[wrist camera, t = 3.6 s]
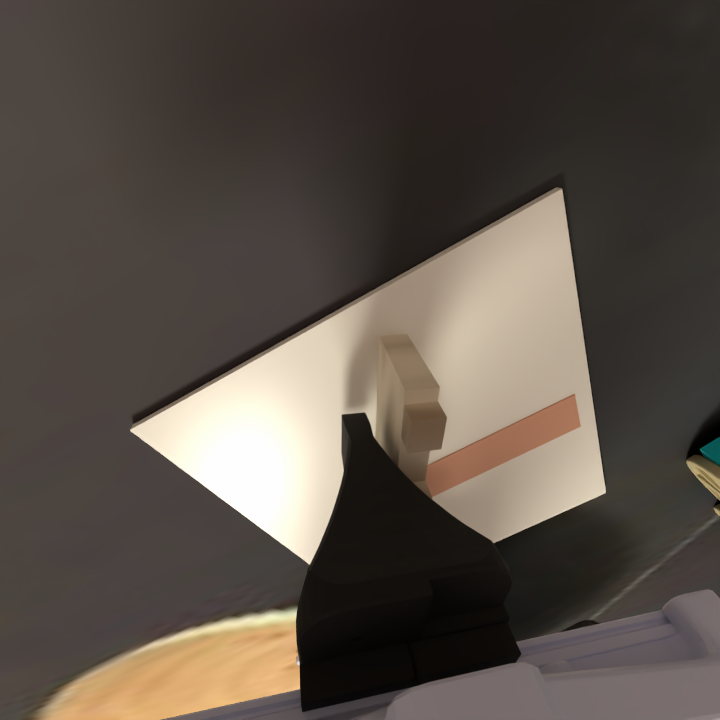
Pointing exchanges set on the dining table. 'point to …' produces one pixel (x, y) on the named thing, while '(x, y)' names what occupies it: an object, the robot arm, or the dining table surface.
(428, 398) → the beige toothed plate
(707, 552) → the dining table surface
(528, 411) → the card
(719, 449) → the toy train
